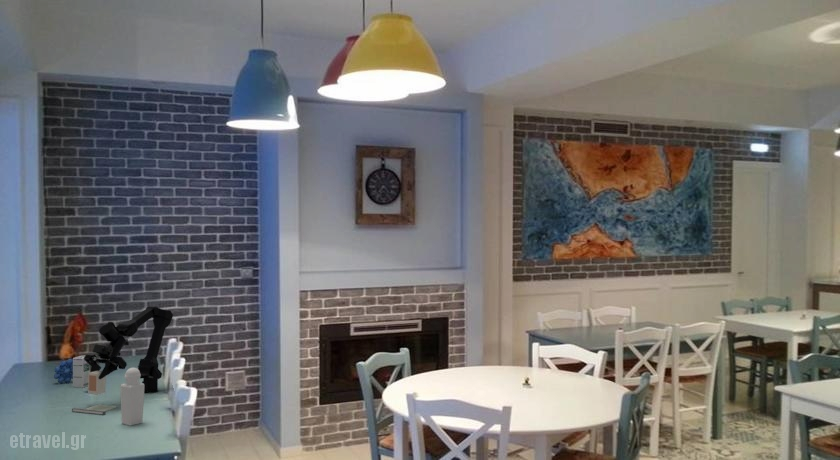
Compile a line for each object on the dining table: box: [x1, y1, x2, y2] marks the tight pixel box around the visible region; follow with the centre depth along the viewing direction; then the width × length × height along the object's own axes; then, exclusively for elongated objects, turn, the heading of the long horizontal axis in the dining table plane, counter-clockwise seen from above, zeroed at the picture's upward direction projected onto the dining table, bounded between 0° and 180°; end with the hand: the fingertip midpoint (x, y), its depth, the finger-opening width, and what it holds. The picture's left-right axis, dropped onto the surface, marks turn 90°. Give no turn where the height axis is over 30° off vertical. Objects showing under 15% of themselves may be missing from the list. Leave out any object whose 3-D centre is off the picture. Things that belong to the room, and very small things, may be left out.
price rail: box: [71, 407, 107, 416], centre depth 271 cm, size 16×1×1 cm, turn 75°
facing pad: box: [85, 404, 118, 412], centre depth 277 cm, size 10×10×1 cm
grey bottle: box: [120, 367, 145, 427], centre depth 258 cm, size 6×6×22 cm
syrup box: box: [72, 355, 91, 389], centre depth 317 cm, size 6×6×14 cm
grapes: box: [53, 358, 73, 384], centre depth 323 cm, size 12×7×12 cm, turn 116°
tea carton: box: [87, 370, 106, 396], centre depth 277 cm, size 5×5×9 cm
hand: (94, 378), depth 275 cm, fingers closed on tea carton, 5 cm apart
